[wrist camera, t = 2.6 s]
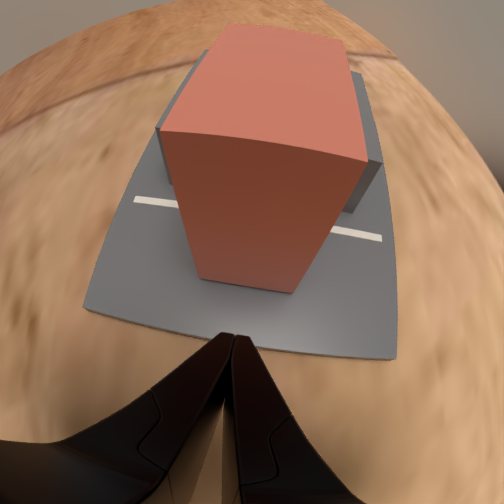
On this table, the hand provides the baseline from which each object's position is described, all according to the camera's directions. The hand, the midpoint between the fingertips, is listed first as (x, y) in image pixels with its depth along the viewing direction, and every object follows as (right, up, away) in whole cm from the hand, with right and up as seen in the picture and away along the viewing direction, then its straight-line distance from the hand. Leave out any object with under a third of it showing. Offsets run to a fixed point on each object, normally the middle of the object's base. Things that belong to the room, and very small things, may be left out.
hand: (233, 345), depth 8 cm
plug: (+1, +4, +9) cm, 10 cm away
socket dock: (+1, +7, +11) cm, 13 cm away
